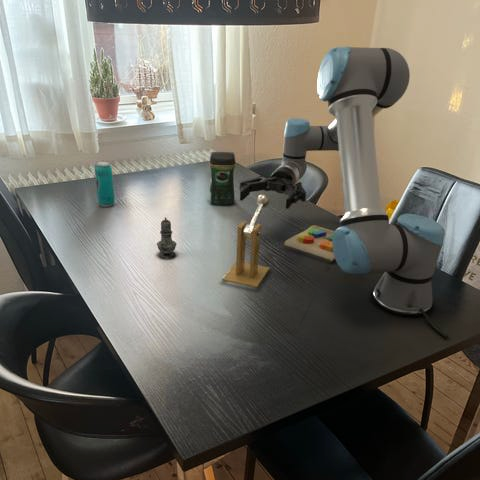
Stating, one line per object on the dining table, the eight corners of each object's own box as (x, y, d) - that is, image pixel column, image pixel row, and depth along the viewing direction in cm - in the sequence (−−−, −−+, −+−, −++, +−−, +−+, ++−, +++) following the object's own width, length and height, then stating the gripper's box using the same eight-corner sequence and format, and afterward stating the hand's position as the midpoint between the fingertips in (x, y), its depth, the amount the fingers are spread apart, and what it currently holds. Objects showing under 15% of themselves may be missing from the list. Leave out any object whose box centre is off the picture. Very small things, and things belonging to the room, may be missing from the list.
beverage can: (98, 202, 183) (93, 161, 174) (114, 201, 184) (110, 160, 176) (99, 208, 178) (94, 166, 170) (115, 206, 180) (111, 165, 171)
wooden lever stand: (237, 265, 147) (239, 214, 138) (269, 272, 144) (274, 220, 135) (222, 283, 137) (223, 230, 128) (256, 291, 135) (260, 237, 126)
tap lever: (259, 200, 142) (258, 190, 139) (271, 202, 141) (270, 192, 138) (241, 239, 134) (240, 229, 131) (254, 241, 133) (253, 232, 130)
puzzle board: (357, 243, 163) (359, 233, 161) (332, 264, 150) (333, 254, 148) (309, 229, 171) (311, 220, 169) (282, 248, 158) (283, 238, 156)
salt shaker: (173, 260, 147) (172, 222, 141) (154, 257, 148) (152, 219, 141) (179, 251, 152) (178, 214, 145) (160, 249, 153) (159, 212, 146)
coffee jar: (234, 198, 192) (236, 149, 182) (234, 206, 186) (236, 155, 175) (209, 197, 192) (209, 148, 181) (208, 205, 185) (209, 154, 175)
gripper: (321, 196, 155) (305, 220, 139) (246, 183, 162) (222, 205, 145) (325, 172, 151) (309, 194, 134) (247, 160, 158) (223, 179, 141)
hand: (264, 200), depth 140 cm, fingers open, 13 cm apart
